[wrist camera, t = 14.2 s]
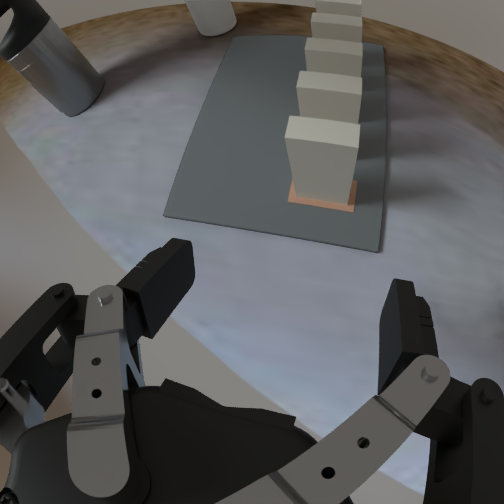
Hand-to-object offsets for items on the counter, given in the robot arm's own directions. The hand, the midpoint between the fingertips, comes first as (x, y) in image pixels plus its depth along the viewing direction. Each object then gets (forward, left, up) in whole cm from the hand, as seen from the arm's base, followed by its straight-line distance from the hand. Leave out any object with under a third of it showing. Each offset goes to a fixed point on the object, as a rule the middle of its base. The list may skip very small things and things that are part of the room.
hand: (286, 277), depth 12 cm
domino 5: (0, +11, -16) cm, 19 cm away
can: (-20, +40, -16) cm, 48 cm away
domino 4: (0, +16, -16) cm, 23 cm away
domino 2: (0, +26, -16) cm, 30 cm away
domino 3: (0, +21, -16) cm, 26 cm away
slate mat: (-5, +21, -16) cm, 27 cm away
